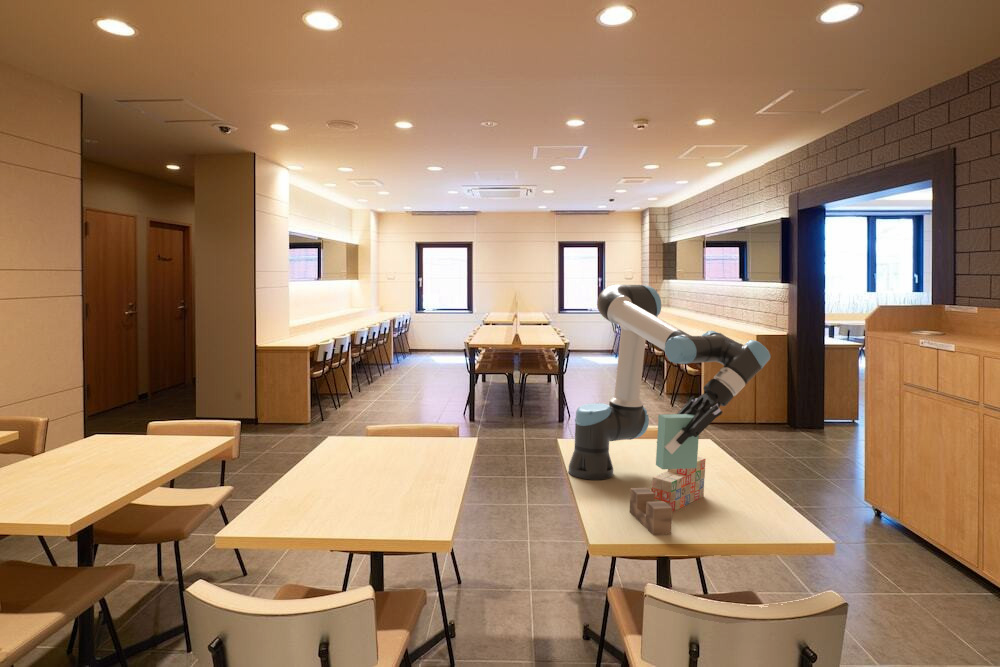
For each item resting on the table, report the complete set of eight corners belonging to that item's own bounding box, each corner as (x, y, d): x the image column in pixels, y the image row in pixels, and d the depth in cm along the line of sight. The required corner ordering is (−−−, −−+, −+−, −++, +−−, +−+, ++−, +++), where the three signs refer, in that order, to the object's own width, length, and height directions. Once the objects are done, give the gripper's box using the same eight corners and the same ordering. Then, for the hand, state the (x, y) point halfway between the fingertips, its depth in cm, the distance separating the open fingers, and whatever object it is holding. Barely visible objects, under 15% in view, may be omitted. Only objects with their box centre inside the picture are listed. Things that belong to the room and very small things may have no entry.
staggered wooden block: (629, 512, 175) (630, 488, 174) (646, 511, 176) (647, 487, 175) (653, 535, 159) (654, 508, 159) (671, 534, 160) (672, 507, 159)
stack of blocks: (669, 514, 175) (671, 471, 174) (650, 508, 179) (652, 466, 178) (703, 496, 190) (706, 457, 189) (685, 491, 194) (687, 453, 193)
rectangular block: (655, 464, 168) (658, 414, 167) (689, 463, 170) (692, 414, 169) (662, 469, 164) (665, 417, 163) (696, 468, 166) (699, 417, 165)
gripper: (698, 372, 175) (641, 430, 174) (733, 383, 159) (670, 447, 157) (714, 390, 177) (658, 448, 175) (750, 403, 160) (688, 467, 158)
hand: (664, 447), depth 166 cm, fingers closed on rectangular block, 4 cm apart
